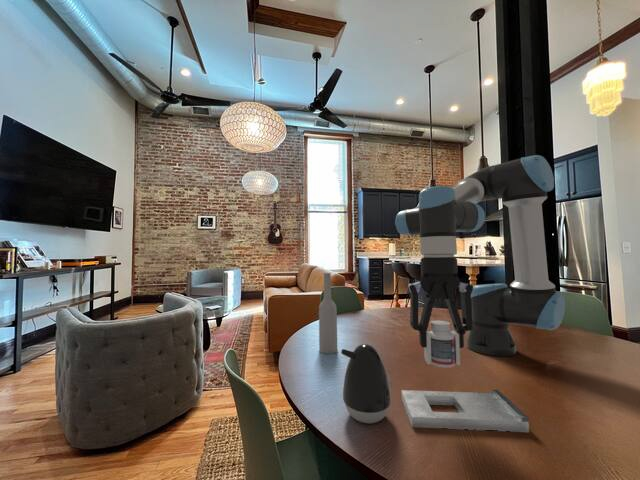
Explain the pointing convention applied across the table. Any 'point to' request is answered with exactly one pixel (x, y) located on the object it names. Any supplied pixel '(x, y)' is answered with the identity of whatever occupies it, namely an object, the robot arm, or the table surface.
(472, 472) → the table surface
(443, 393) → the jig
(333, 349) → the bottle
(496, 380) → the table surface
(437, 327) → the pill bottle
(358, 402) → the pump dispenser
